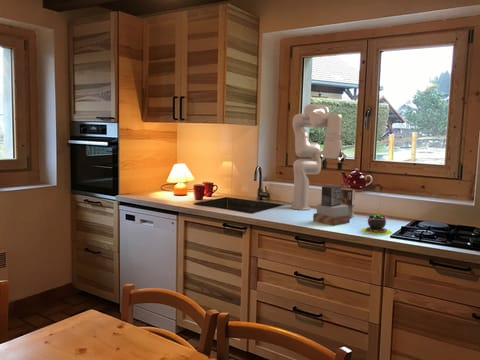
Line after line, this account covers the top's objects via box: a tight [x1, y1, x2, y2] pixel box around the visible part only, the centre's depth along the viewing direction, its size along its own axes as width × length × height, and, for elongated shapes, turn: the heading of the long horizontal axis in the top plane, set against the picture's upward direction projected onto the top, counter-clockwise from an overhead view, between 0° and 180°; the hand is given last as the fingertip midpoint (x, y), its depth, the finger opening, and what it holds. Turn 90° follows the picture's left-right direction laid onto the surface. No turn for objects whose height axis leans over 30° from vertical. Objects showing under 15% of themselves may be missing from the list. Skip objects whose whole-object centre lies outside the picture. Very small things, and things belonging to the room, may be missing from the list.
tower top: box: [316, 203, 349, 217], centre depth 241 cm, size 12×12×5 cm
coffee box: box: [341, 188, 356, 219], centre depth 259 cm, size 9×6×16 cm
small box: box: [320, 184, 342, 207], centre depth 240 cm, size 11×6×10 cm, turn 138°
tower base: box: [312, 212, 351, 227], centre depth 241 cm, size 14×14×5 cm
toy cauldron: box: [360, 211, 393, 236], centre depth 221 cm, size 15×15×11 cm
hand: (331, 169), depth 239 cm, fingers open, 9 cm apart
